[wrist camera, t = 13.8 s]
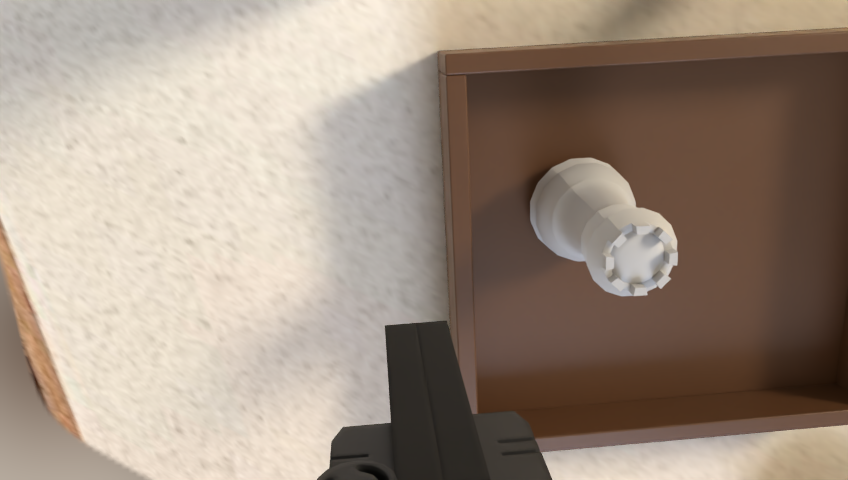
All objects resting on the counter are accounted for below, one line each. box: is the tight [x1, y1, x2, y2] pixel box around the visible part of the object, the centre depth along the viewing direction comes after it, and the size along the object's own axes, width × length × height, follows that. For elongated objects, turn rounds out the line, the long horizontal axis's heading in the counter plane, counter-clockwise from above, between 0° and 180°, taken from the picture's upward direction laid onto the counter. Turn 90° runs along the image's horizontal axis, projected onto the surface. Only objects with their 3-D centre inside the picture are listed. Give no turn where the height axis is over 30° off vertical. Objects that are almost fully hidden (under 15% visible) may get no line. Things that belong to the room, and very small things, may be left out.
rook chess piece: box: [530, 158, 678, 296], centre depth 29 cm, size 4×4×8 cm
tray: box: [437, 28, 848, 452], centre depth 32 cm, size 18×20×3 cm
